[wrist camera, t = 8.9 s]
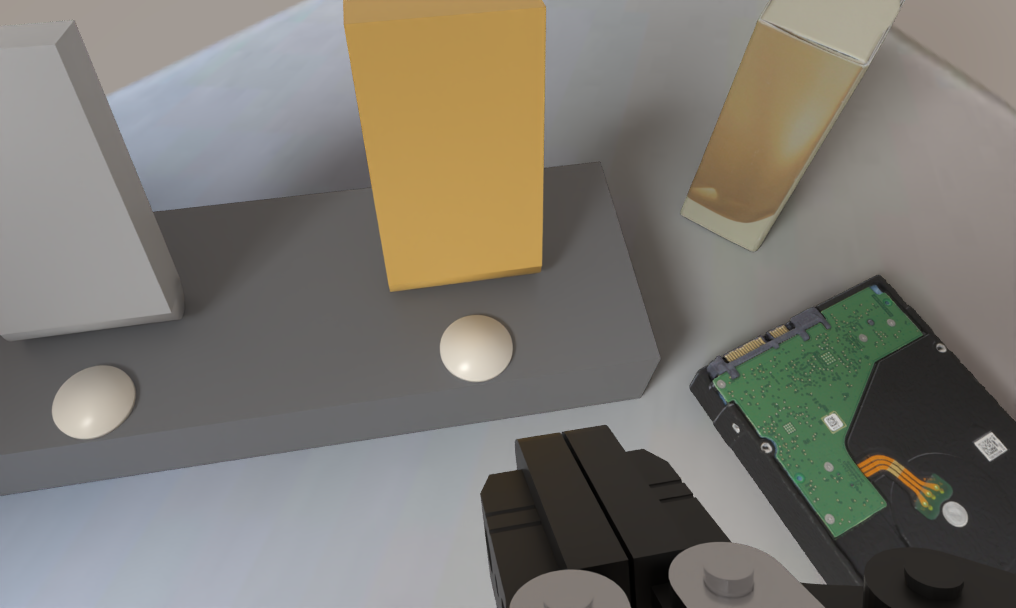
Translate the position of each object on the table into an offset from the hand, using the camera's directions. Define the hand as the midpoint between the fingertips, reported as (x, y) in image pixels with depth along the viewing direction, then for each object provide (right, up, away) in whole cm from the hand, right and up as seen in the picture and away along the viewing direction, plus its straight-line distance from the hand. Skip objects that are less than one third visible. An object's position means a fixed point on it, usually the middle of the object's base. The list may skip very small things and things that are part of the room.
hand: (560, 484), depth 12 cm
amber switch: (-3, +5, +17) cm, 18 cm away
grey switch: (-16, +3, +15) cm, 23 cm away
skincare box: (+11, +8, +26) cm, 29 cm away
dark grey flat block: (-10, +1, +20) cm, 23 cm away
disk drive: (+15, -5, +19) cm, 25 cm away
